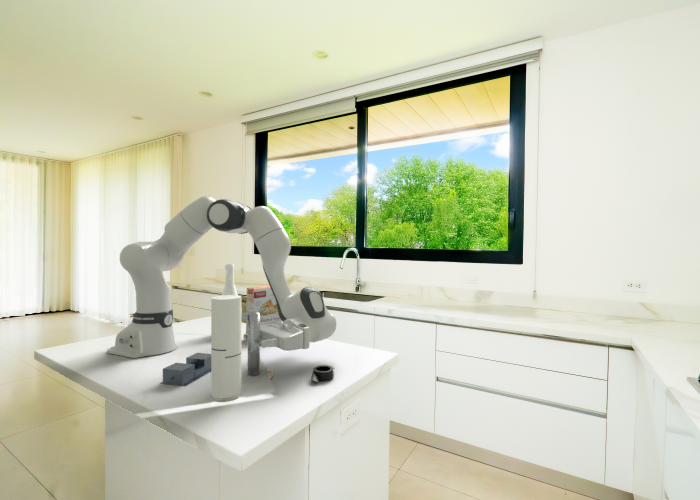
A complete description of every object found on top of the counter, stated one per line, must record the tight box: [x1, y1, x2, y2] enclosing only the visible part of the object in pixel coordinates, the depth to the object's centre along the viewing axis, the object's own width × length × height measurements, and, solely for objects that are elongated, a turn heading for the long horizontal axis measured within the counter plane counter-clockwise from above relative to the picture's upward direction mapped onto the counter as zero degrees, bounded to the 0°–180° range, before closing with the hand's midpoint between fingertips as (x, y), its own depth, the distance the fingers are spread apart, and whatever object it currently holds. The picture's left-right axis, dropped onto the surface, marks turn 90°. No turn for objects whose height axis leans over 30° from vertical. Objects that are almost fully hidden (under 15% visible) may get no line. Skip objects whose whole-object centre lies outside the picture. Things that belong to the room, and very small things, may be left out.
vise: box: [159, 352, 211, 387], centre depth 99 cm, size 14×8×5 cm, turn 167°
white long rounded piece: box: [221, 263, 243, 332], centre depth 147 cm, size 10×10×30 cm
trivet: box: [265, 368, 274, 380], centre depth 100 cm, size 11×11×1 cm
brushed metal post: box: [241, 312, 261, 377], centre depth 99 cm, size 7×3×18 cm, turn 112°
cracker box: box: [245, 285, 283, 334], centre depth 144 cm, size 14×6×21 cm, turn 138°
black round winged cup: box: [310, 364, 335, 383], centre depth 100 cm, size 8×10×3 cm
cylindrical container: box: [210, 294, 242, 403], centre depth 88 cm, size 7×7×25 cm
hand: (252, 340), depth 100 cm, fingers open, 8 cm apart
